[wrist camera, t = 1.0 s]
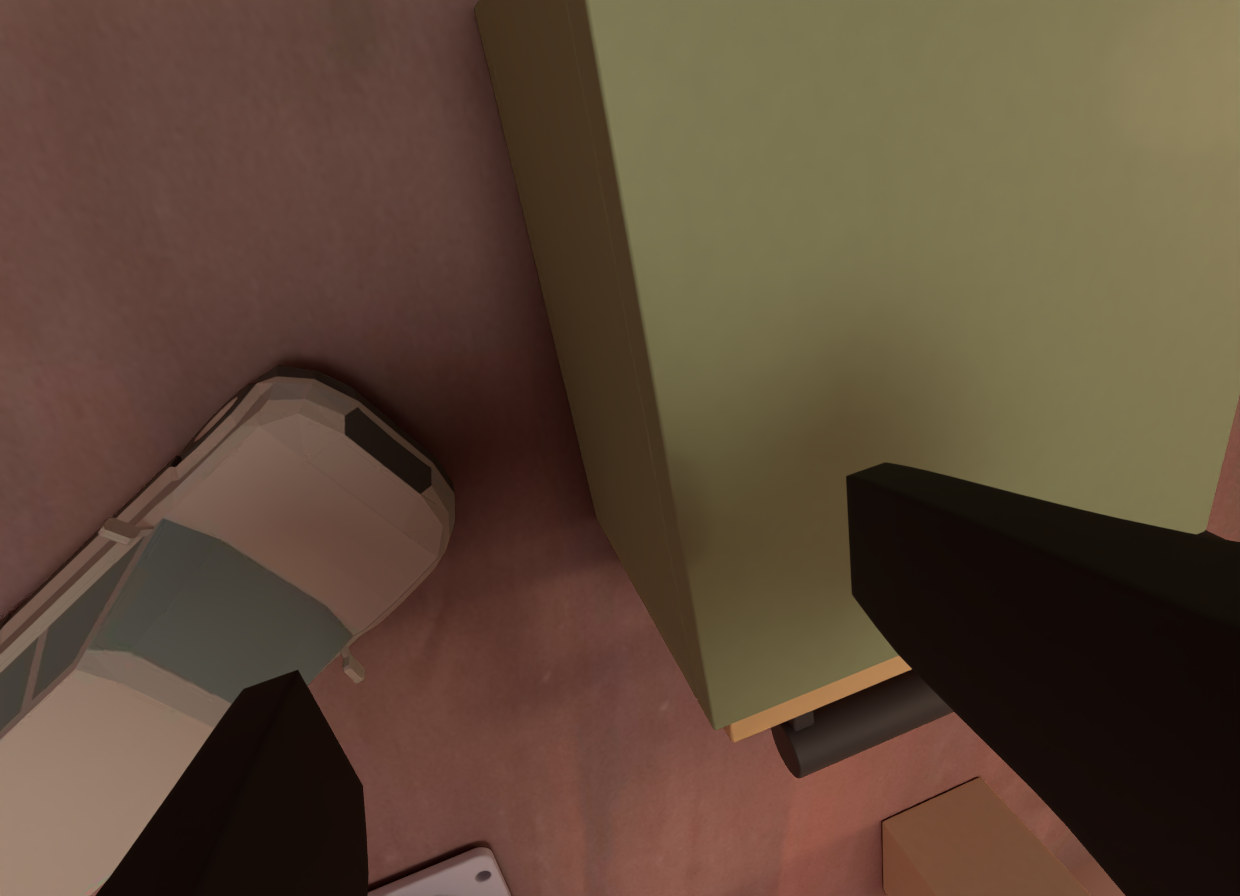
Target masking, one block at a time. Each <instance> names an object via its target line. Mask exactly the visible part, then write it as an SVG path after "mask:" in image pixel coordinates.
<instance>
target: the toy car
mask: <svg viewBox="0 0 1240 896" xmlns="http://www.w3.org/2000/svg"><path fill="white" fill-rule="evenodd" d="M454 524H455V496H454V489H453V484H452V481H451V480H450V478H449V476H448V475H447V473H446V471H445V470H444V468H443V466H442V465H441V463H440V461H439V460H438V459H437V458H436V457H434V456H433V455H432V454H431V453H430V452H429V451H427V450H426V449H425V448H424V447H423V446H421V445H420V444H419V443H418V442H417V441H415V440H414V439H413V438H412V437H411V436H409V435H408V434H407V433H406V432H405V431H403V430H402V429H401V428H400V427H399V426H397V425H396V424H395V423H394V422H393V421H391V420H390V419H389V418H388V417H387V416H386V415H384V414H383V413H382V412H381V411H380V410H378V409H377V408H376V407H375V406H374V405H372V404H371V403H370V402H369V401H368V400H366V399H365V398H364V397H363V396H362V395H360V394H359V393H358V392H357V391H356V390H354V389H353V388H352V387H351V386H348V385H346V384H344V383H342V382H340V381H338V380H336V379H333V378H331V377H329V376H327V375H325V374H323V373H320V372H318V371H314V370H307V369H301V368H294V367H287V366H280V365H278V366H276V367H275V368H273V369H272V370H270V371H269V372H267V373H265V374H264V375H262V376H261V377H260V378H259V380H258V381H257V383H256V384H248V385H247V386H246V387H244V388H243V389H241V390H240V391H239V392H238V393H237V394H236V395H235V396H234V397H232V398H231V399H230V400H229V401H228V402H227V403H226V404H225V405H224V406H223V407H222V408H221V409H220V410H219V411H218V412H217V413H216V414H215V415H214V416H213V417H212V418H211V419H210V420H209V421H208V422H207V423H206V424H205V425H204V426H203V428H202V429H201V430H200V431H199V432H198V433H197V434H196V435H195V436H194V438H193V439H192V440H191V441H190V443H189V444H188V445H187V446H186V448H185V449H184V450H183V452H182V455H181V457H180V456H178V455H177V456H176V457H175V458H174V459H173V460H172V461H171V462H170V463H169V464H168V465H167V466H166V467H164V468H163V469H162V470H161V471H160V472H159V473H158V474H157V475H156V476H155V477H154V478H153V479H152V480H151V481H150V482H149V483H148V484H147V485H146V486H145V487H144V488H143V489H142V490H141V491H140V492H138V493H137V494H136V495H135V496H134V497H133V498H132V499H131V500H130V501H129V502H128V503H127V504H126V505H125V506H124V507H123V508H122V509H121V510H120V511H119V512H118V513H117V514H116V515H115V516H114V517H112V518H108V519H107V521H106V522H105V523H104V525H103V526H102V527H101V529H100V530H99V531H98V532H97V533H96V534H95V535H94V536H93V537H92V538H91V539H90V540H89V541H88V542H86V543H85V544H84V545H83V546H82V547H81V548H80V549H79V550H78V551H77V552H76V553H75V554H74V555H73V556H72V557H71V558H70V559H69V560H68V561H67V562H66V563H65V564H64V565H63V566H62V567H60V568H59V569H58V570H57V571H56V572H55V573H54V574H53V575H52V576H51V577H50V578H49V579H48V580H47V581H46V582H45V583H44V584H43V585H42V586H41V587H40V588H39V589H38V590H37V591H36V592H34V593H33V594H32V595H31V596H30V597H29V598H28V599H27V600H26V601H25V602H24V603H23V604H22V605H21V606H20V607H19V608H18V609H17V610H16V611H15V612H14V614H12V615H7V616H5V617H4V618H3V619H2V620H1V621H0V896H90V895H91V894H93V893H94V892H95V891H96V890H97V889H98V888H99V887H100V886H101V885H102V884H103V883H104V882H106V881H107V880H108V879H109V877H110V876H111V874H112V873H113V872H114V870H115V869H116V868H117V866H118V865H119V863H120V862H121V860H122V859H123V858H124V856H125V855H126V853H127V852H128V851H129V849H130V848H131V846H132V845H133V844H134V842H135V841H136V839H137V838H138V836H139V835H140V834H141V832H142V831H143V829H144V828H145V827H146V825H147V824H148V822H149V821H150V820H151V818H152V817H153V815H154V814H155V813H156V811H157V810H158V808H159V807H160V805H161V804H162V803H163V801H164V800H165V798H166V797H167V796H168V794H169V793H170V791H171V790H172V788H173V787H174V786H175V784H176V783H177V781H178V780H179V778H180V777H181V776H182V774H183V773H184V771H185V770H186V768H187V767H188V765H189V764H190V763H191V761H192V760H193V758H194V757H195V755H196V754H197V752H198V751H199V750H200V748H201V747H202V745H203V744H204V742H205V741H206V739H207V738H208V737H209V735H210V734H211V732H212V731H213V729H214V728H215V727H216V725H217V724H218V722H219V721H220V720H221V718H222V717H223V715H224V714H225V713H226V711H227V710H228V708H229V707H230V706H231V704H232V703H233V702H234V700H235V699H236V698H237V696H238V695H239V694H240V693H241V691H242V690H243V689H244V688H247V687H250V686H253V685H256V684H259V683H261V682H264V681H267V680H270V679H273V678H276V677H278V676H281V675H284V674H287V673H290V672H293V671H295V670H298V671H299V672H300V674H301V676H302V678H303V680H304V681H305V683H306V685H307V686H308V685H309V684H310V683H311V682H312V681H313V679H314V678H316V677H317V676H318V675H319V674H320V673H321V672H322V671H323V670H324V669H325V668H326V667H327V666H329V665H330V664H331V663H332V662H333V661H334V660H335V659H336V658H337V657H338V656H339V655H340V654H341V655H342V657H343V670H344V672H345V673H346V674H347V675H348V676H349V677H350V678H351V679H352V680H353V681H354V682H355V683H359V682H361V681H362V680H364V675H365V669H364V667H363V666H362V665H361V664H360V663H359V662H358V661H357V660H356V659H355V658H354V657H353V656H352V655H351V653H350V650H349V648H348V647H349V646H350V645H351V644H352V643H353V642H354V641H356V640H357V639H358V638H359V637H360V636H361V635H362V634H364V633H365V632H367V631H369V630H370V629H372V628H374V627H375V626H377V625H379V624H380V623H381V622H382V621H383V620H384V619H385V618H386V617H387V616H389V615H390V614H391V613H392V612H393V611H394V610H395V609H396V608H397V607H398V606H399V605H400V604H401V603H402V602H403V601H404V600H405V599H406V598H407V597H408V596H409V595H410V594H411V593H412V592H413V591H414V590H415V589H416V588H417V587H418V586H419V585H420V584H421V583H422V582H423V581H424V580H425V579H426V578H427V577H428V576H429V574H430V573H431V572H432V571H433V570H434V569H435V568H436V566H437V565H438V563H439V561H440V560H441V558H442V556H443V555H444V553H445V551H446V548H447V545H448V542H449V539H450V536H451V533H452V530H453V527H454Z"/></svg>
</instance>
